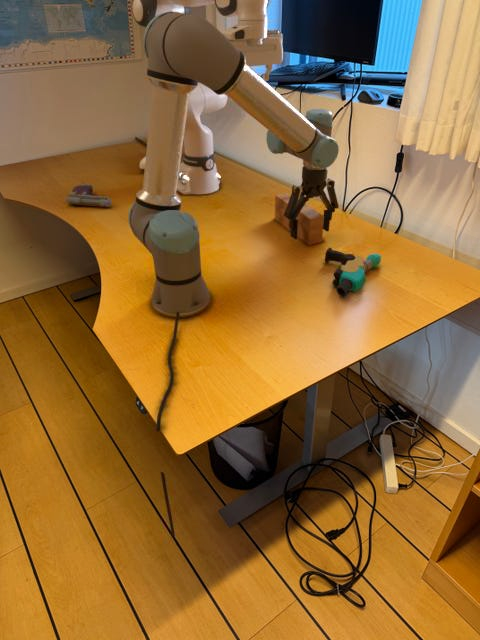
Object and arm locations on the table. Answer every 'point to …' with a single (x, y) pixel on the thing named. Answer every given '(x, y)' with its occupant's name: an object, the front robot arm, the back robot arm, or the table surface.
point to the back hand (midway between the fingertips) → (252, 82)
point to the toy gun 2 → (350, 270)
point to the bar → (301, 220)
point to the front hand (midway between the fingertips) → (309, 233)
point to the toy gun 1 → (87, 197)
